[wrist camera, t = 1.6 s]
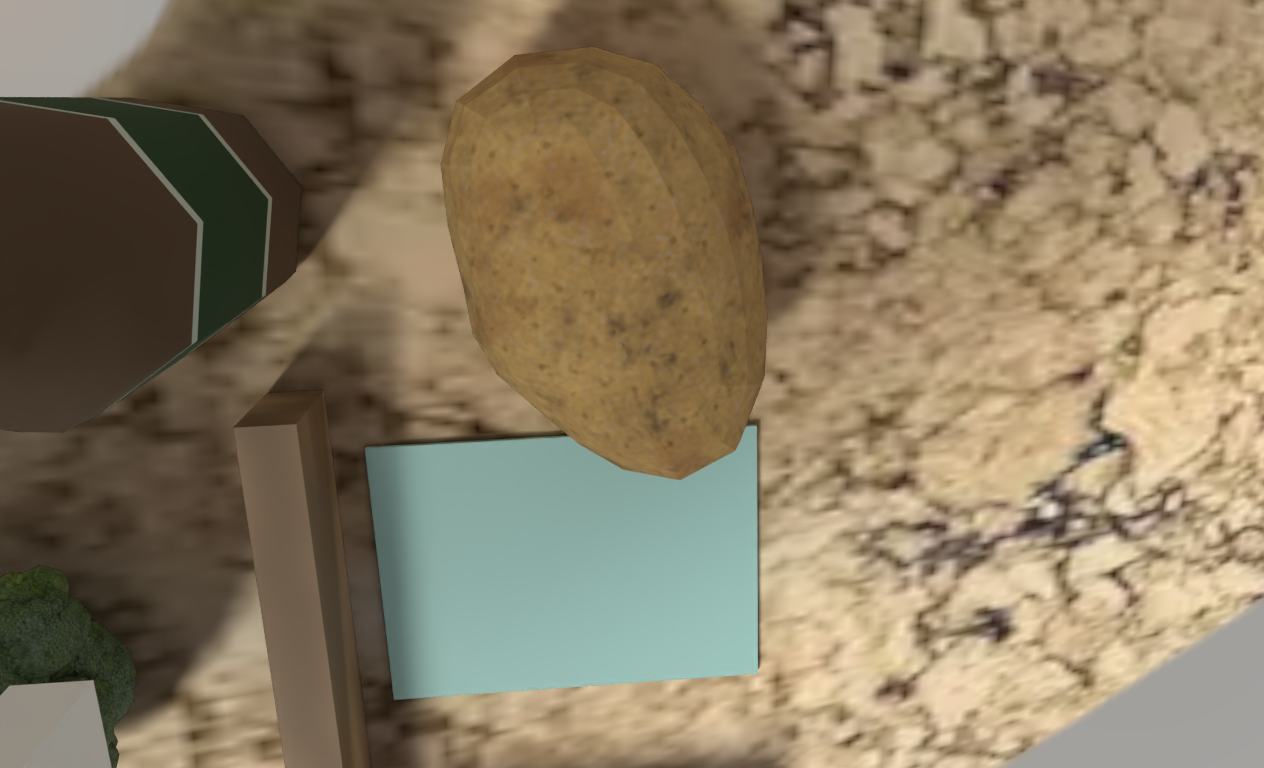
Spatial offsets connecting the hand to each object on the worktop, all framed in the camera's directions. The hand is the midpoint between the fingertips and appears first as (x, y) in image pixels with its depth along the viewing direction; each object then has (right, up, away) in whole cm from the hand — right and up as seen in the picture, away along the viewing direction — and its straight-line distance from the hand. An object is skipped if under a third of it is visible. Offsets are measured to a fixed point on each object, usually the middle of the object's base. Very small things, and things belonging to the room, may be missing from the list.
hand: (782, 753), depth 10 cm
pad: (-4, -3, +29) cm, 29 cm away
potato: (-2, +8, +26) cm, 27 cm away
